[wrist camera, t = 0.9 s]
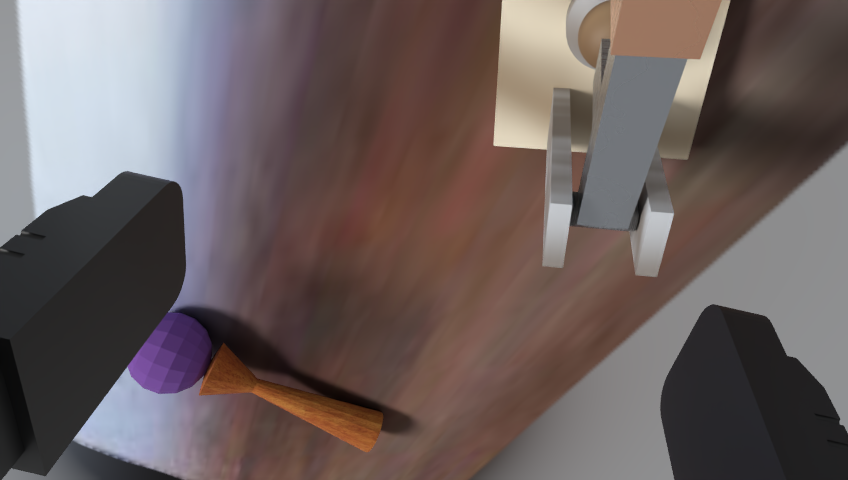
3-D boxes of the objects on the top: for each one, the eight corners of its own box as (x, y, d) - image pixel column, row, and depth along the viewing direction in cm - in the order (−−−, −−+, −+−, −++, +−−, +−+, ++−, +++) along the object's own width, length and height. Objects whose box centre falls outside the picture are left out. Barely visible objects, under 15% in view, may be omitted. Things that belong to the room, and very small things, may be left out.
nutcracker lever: (630, 165, 28) (632, 248, 26) (570, 160, 28) (566, 242, 26) (782, -324, 14) (815, -238, 12) (660, -320, 15) (668, -236, 12)
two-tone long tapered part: (351, 477, 52) (107, 387, 48) (368, 410, 56) (144, 321, 52) (379, 456, 48) (113, 355, 43) (396, 385, 52) (154, 286, 47)
